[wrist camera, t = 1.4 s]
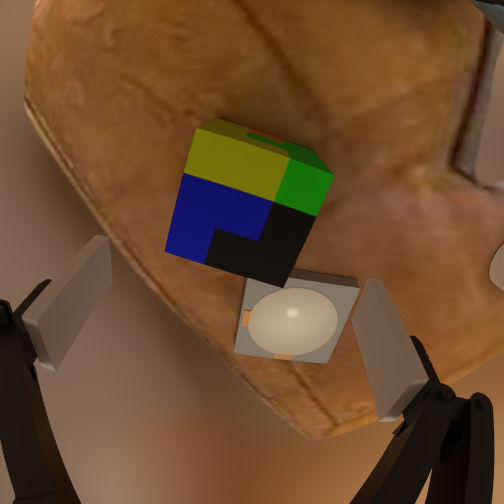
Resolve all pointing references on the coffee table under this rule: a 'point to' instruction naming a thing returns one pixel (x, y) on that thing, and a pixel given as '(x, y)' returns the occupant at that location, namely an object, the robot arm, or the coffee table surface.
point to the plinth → (295, 316)
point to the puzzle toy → (246, 202)
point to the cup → (498, 268)
